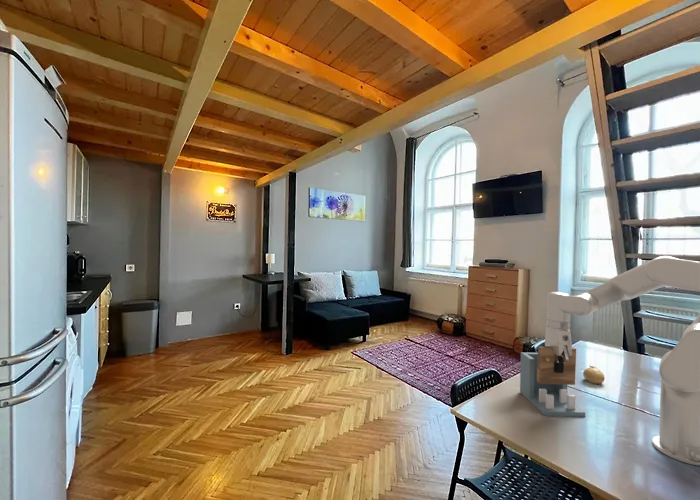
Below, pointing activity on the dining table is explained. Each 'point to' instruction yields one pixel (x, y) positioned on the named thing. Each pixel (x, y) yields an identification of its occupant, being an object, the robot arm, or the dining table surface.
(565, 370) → the door
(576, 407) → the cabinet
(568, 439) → the dining table surface
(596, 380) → the onion
